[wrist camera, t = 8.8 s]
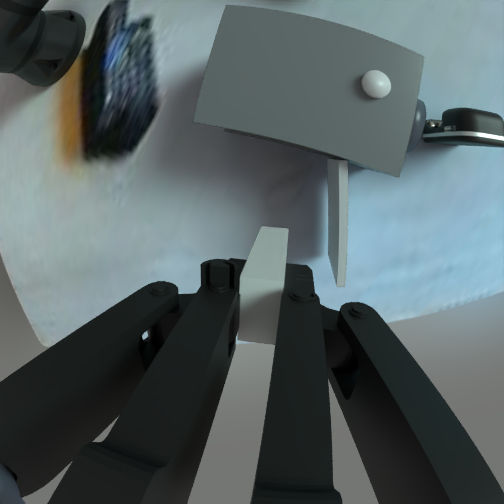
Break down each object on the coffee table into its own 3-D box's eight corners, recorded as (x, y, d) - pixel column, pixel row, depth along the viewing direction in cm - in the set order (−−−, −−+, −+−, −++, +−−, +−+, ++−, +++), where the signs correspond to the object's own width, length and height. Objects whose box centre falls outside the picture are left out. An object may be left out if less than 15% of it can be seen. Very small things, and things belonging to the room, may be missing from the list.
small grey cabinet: (225, 131, 33) (189, 121, 21) (248, 46, 29) (224, 1, 17) (380, 174, 32) (422, 186, 20) (401, 88, 28) (446, 64, 16)
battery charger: (459, 118, 27) (509, 113, 17) (462, 145, 28) (513, 148, 18) (418, 114, 28) (462, 102, 18) (421, 142, 30) (467, 141, 19)
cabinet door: (338, 253, 35) (350, 286, 26) (327, 253, 35) (336, 287, 27) (338, 158, 31) (354, 160, 22) (326, 158, 31) (338, 160, 23)
